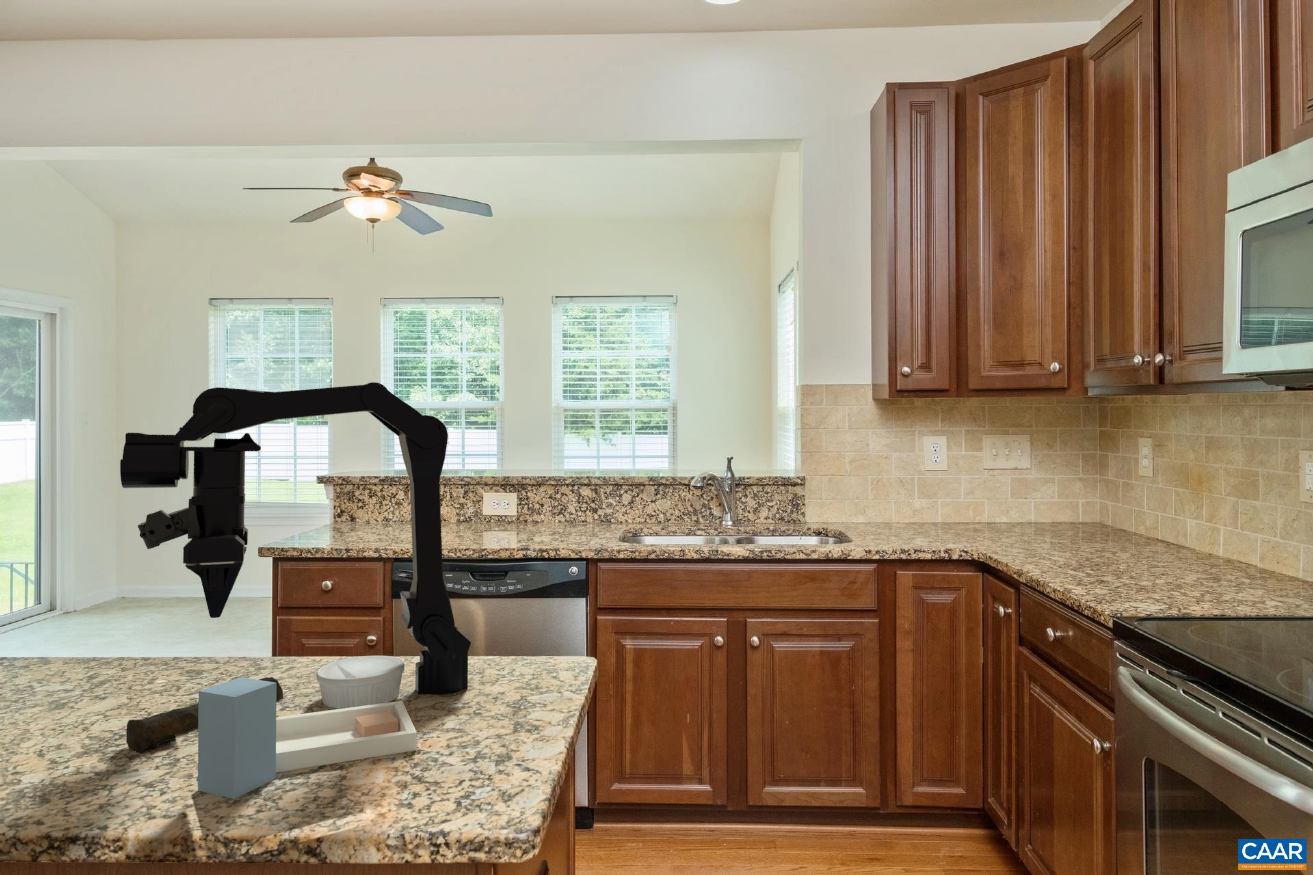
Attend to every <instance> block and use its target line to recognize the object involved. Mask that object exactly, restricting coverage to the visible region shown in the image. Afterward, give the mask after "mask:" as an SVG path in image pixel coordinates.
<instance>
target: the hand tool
mask: <svg viewBox="0 0 1313 875" xmlns="http://www.w3.org/2000/svg"><path fill="white" fill-rule="evenodd" d="M258 680H262V681H269V682H275V683H276V702H278V701H280V700H283V699H284V690H283V688H282V686H281V684H280V683H279V680H278V679H276V678H274V677H273V676H270V677H269V676H268V677H263V678H259V679H258ZM198 709H199V702H198V703H194V704H191V705H189V706H185V707H181V708H174V709H171V710H168V711H165V712H160V713H158V714H154V715H151V716H147V717H145V718H142V719H129V720H128V721H127V723H126V730H125V733H126V734H125V735H126V740H125V741H126V744H127V746H128V749H129V750H131V751H132V752H135V753H137V754H138V753H139V754H140V753H143V752H145V750H146V749H148V748H153V749H156V748H157V747H159V744H162V743H166V742H168V741H171V740H174V739H176V738H177V737H176V735H179V734H183V733H184V732H188V731H191V730H194V729H198Z"/></svg>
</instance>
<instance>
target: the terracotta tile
mask: <svg viewBox="0 0 1313 875" xmlns="http://www.w3.org/2000/svg"><path fill="white" fill-rule="evenodd" d="M355 730H356V731H357V732H358V734H359V735H360V736H361V737H368V736H374V735H381V734H388V733H395V732H398V719H396V718H395V717H394V716H393V715H392V714H391V713H390V712H389V711H385V712H380V713H375V714H370V715H364V716H359V717H355Z"/></svg>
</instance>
